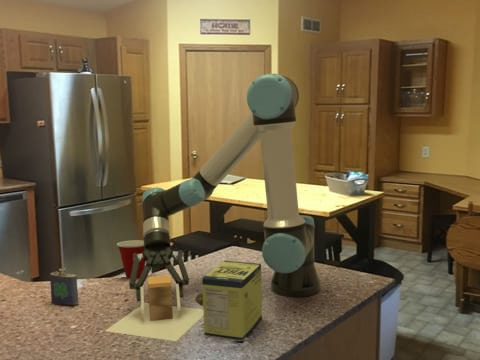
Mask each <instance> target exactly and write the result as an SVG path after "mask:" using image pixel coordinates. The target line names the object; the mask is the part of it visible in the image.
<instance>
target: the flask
mask: <svg viewBox="0 0 480 360" xmlns="http://www.w3.org/2000/svg"><path fill="white" fill-rule="evenodd" d="M66 270H67V269H66V268H59V269H58V271H53V272H51V273H50V274H49V279H50V280H49V281H50V297H51V301H50V303H51V304H52V305H57V306H65V307H67V306H68V307H77V306H78V305H79V293H78V292H79V291H78V290H79V289H78V276H77V274H74V273H73V274H71V273H66Z"/></svg>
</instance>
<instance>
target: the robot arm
mask: <svg viewBox="0 0 480 360" xmlns="http://www.w3.org/2000/svg"><path fill="white" fill-rule="evenodd" d="M299 100H300V92H299V88H298V87H297V85H296V83H295V82H294V80H292V79H290V78H289V77H287V76H286V75H285V76H284V75H281V74H278V73H267V74H262V75H260V76H258V77H256V78H255V79H253V81H252V82H251V83H250V85H249V86H248V90H247V93H246V103H247V106H248V108H249V111H250V112H249V114H248V115H247V116H246V117H244V119H243V121H241V123H239V125H237V127H236V128H235V129H234V130H233V132H232V133H231V134H229V136H228V137H227V138H226V139H225V141H224V142H223V143H222V144H221V145H220V147H218V148H217V150H216V151H215V152H214V153H213V154H212V155H211V156H210V157H209V159H208V160H207V161H206V162H205V163H204V164H203V166H201V168H199V170H198V171H197V172H196V173H195V174H194V175H193V177H191V178H190V179H186V180H184V181H181V182H179V183H178V184H176V185H174V186H172V187H170V188H168V189H166V190H165V189H164V188H162V187H158V186H156V187H154V188H153V187H149V188H148V189H145V191H144V192H143V193H142V197H141V198H142V201H141V209H142V210H141V211H142V231H143V233H142V235H143V241H144V251H143V253H142V254H137V253H134V254H133V260H134V263H133V268H132V272H131V277H130V279H129V282H128V284H129V286H128V287H129V289H130V290H135V293H136V297H135V298H136V301H137V302H140V306H141V313H142V314H145V313H144V303H145V292H144V291H145V289H144V284H145V282H146V279H148V277H149V274H150V272H151V270H152V269H153V268H158V267H161V268H163V267H165V269H166V270H167V271H168V273H169V274H170V277H172V280H173V281H174V282H175V298H176V306H177V311H180V307H181V299H182V298H184V295H185V293H184V286H188V285H189V283H190V277H189V274H188V271H187V268H186V266H185V265H186V264H185V262H184V259H183V250H181V249H179V250H177V251H174V250H173V249H172V247H171V245H172V244H171V236H170V235H171V232H170V221H169V220H170V216H173V215H176V214H177V213H179V212H182V211H184V210H187V209H190V208H191V207H195V206H197V205H198V204H200V203H203V201H205V200H208V198H210V197H211V196H212V194H213V193H214V191H215V189H216V188H217V187H218V186H219V184H221V182H222V181H223V180H224V179H225V178H226V177H227V176H228V175H229V174H230V172H231V171H233V169H234V168H235V167H236V166H238V164H239V163H240V162H241V161H242V160H243V158H244V157H245V156H246V155H247V154H248V153H249V152H250V151H251V150H252V149H253V147H255V146H256V145H257V143H259V141H260V147H261V159H262V168H263V176H264V187H265V188H264V189H265V196H266V197H265V198H266V206H267V207H266V209H267V219H266V220H265V221H264V222H263V233H264V234H263V235H264V242H263V244H262V249H261V255H262V259H263V261H264V262H265V264H266V265H267V266H268V267H269V268H270V269H271V270H272V271H273V274H272V277H271V280H270V289H271V291H272V292H273V293H275V294H277V295H279V296H282V297H283V296H284V297H291V298H293V297H295V298H301V297H308V296H313V295H315V294H318V293H319V292H320V290H321V281H320V278H319V274H318V271H317V269H316V266H315V227H316V226H315V220H314V218H313V217H312V216H310V215H302V214H300V212H299V201H298V199H299V198H298V192H297V191H298V190H297V177H296V168H295V157H294V147H293V146H294V145H293V144H294V143H293V135H292V129H293V127H294V126H295V125H296V123H297V118H296V117H297V116H296V115H297V114H296V108H297V106H298V103H299ZM173 257H174V259H175V261H176V260H177V265H178V268H179V271H180V275H181V276H180V275H179V273H178V271H177V270H176V268H175V267H174V266H173V264H172V262H171V259H172V258H173ZM142 258H144V260H145V267H144V269H143V271H142V274H141V276H140V278H138V280H137V279H136V276H137V271H138V266H139V262H141V259H142ZM181 277H182V278H181ZM136 280H137V282H136Z"/></svg>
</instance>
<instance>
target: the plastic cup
mask: <svg viewBox="0 0 480 360" xmlns="http://www.w3.org/2000/svg"><path fill="white" fill-rule="evenodd" d="M116 245H117V247H118V250H119V253H120V258H121V262H122V267H123V270H124V273H125V278H127V279H129V280H130V277H131V272H132V268H133V263H134V260H133V254H134V253H137V254H142V253H143V251H144V239H143V240H139V239H136V240H135V239H134V240H133V239H132V240H124V241H120V242H118V243H116ZM145 265H146V261H145V260H144V258H142V259H141V262H139V266H138V271H137V276H136V280H137V279H138V280H139V278H140V276H141V274H142V271H143V269H144V267H145Z"/></svg>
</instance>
